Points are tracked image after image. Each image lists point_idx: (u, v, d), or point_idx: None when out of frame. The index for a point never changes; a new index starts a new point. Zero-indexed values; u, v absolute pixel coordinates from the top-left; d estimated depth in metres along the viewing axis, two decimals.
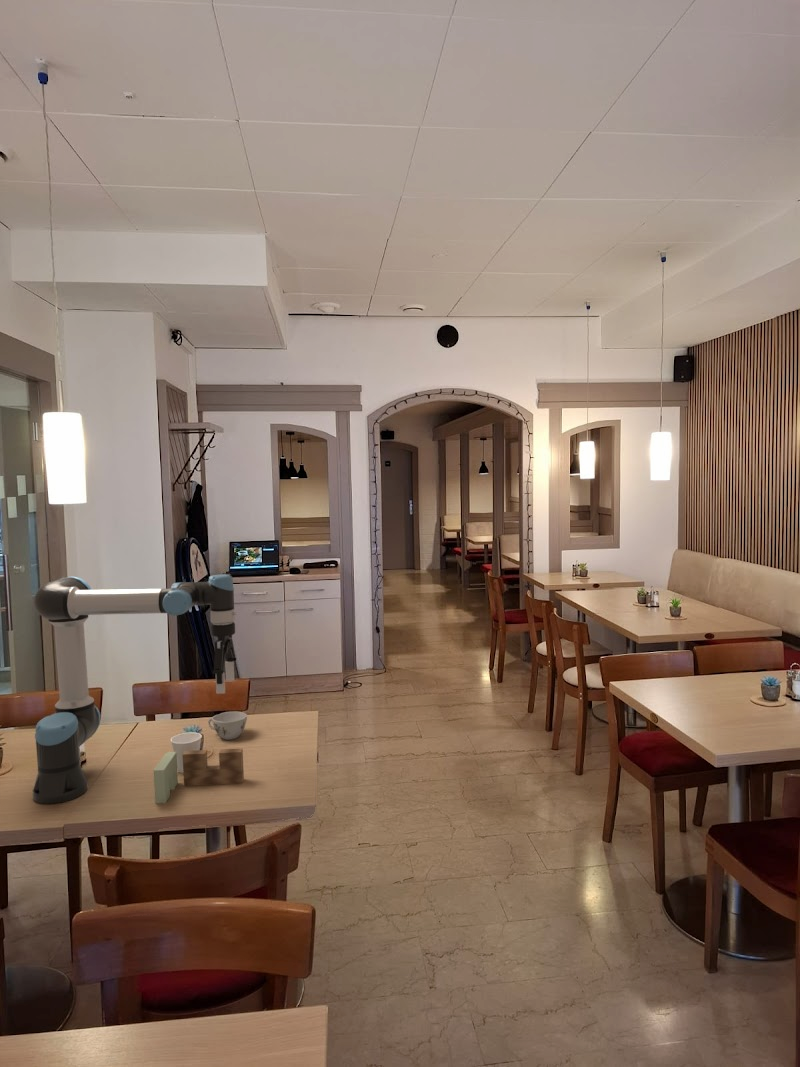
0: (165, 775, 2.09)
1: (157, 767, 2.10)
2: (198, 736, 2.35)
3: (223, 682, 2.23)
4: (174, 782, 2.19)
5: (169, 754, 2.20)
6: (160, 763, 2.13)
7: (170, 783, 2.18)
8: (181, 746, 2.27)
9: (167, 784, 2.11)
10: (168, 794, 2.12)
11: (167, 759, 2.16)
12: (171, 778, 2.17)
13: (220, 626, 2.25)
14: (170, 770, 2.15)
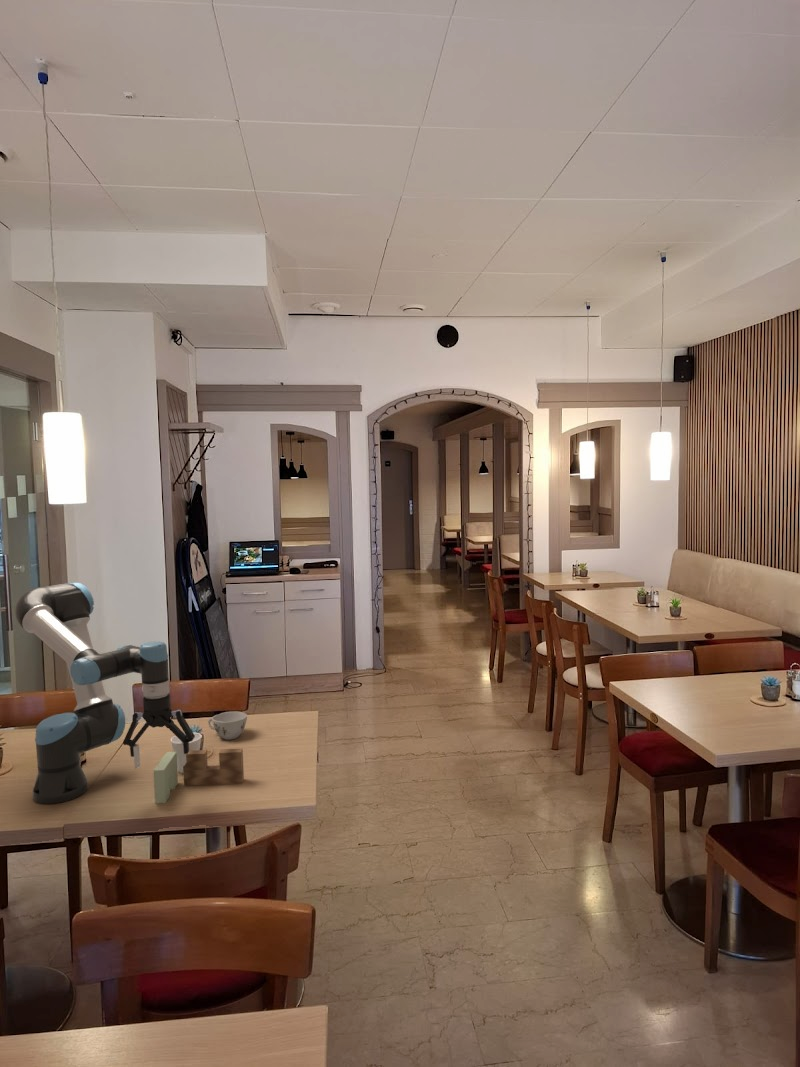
0: (165, 775, 2.09)
1: (157, 767, 2.10)
2: (198, 736, 2.35)
3: None
4: (174, 782, 2.19)
5: (169, 754, 2.20)
6: (160, 763, 2.13)
7: (170, 783, 2.18)
8: None
9: (167, 784, 2.11)
10: (168, 794, 2.12)
11: (167, 759, 2.16)
12: (171, 778, 2.17)
13: (144, 697, 2.07)
14: (170, 770, 2.15)
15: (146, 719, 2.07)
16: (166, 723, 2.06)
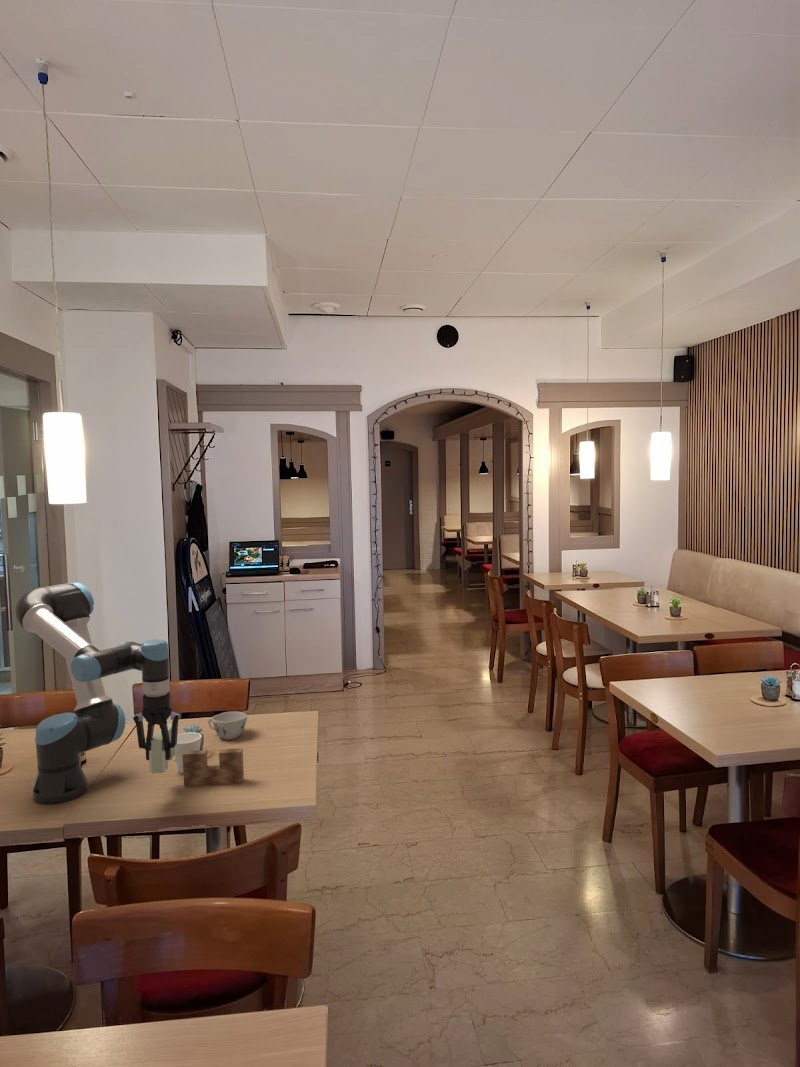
0: (163, 745, 2.09)
1: (155, 737, 2.09)
2: (198, 736, 2.35)
3: None
4: (171, 753, 2.18)
5: (167, 725, 2.19)
6: (158, 734, 2.12)
7: None
8: (180, 746, 2.27)
9: None
10: None
11: None
12: None
13: (144, 695, 2.07)
14: None
15: (145, 716, 2.07)
16: (161, 723, 2.07)
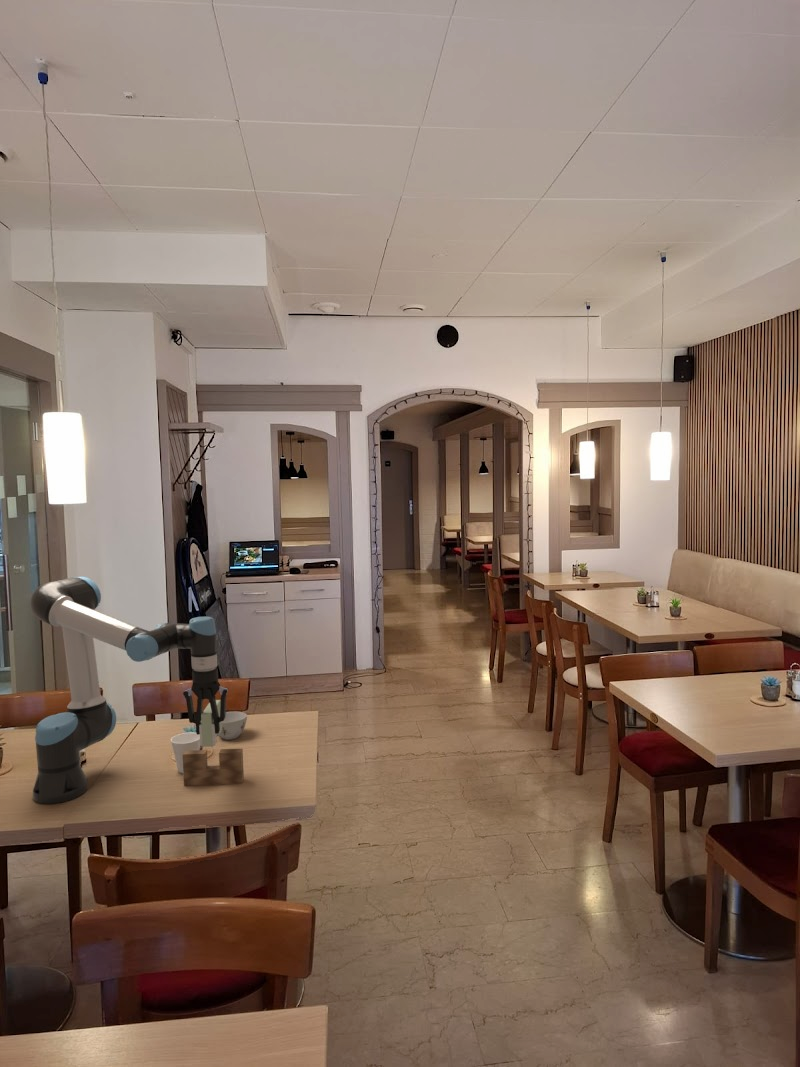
0: (212, 719, 2.15)
1: (204, 712, 2.15)
2: (198, 736, 2.35)
3: (200, 734, 2.14)
4: None
5: None
6: (206, 709, 2.18)
7: None
8: (181, 746, 2.27)
9: None
10: None
11: None
12: None
13: (193, 670, 2.13)
14: None
15: (195, 691, 2.13)
16: (211, 697, 2.13)
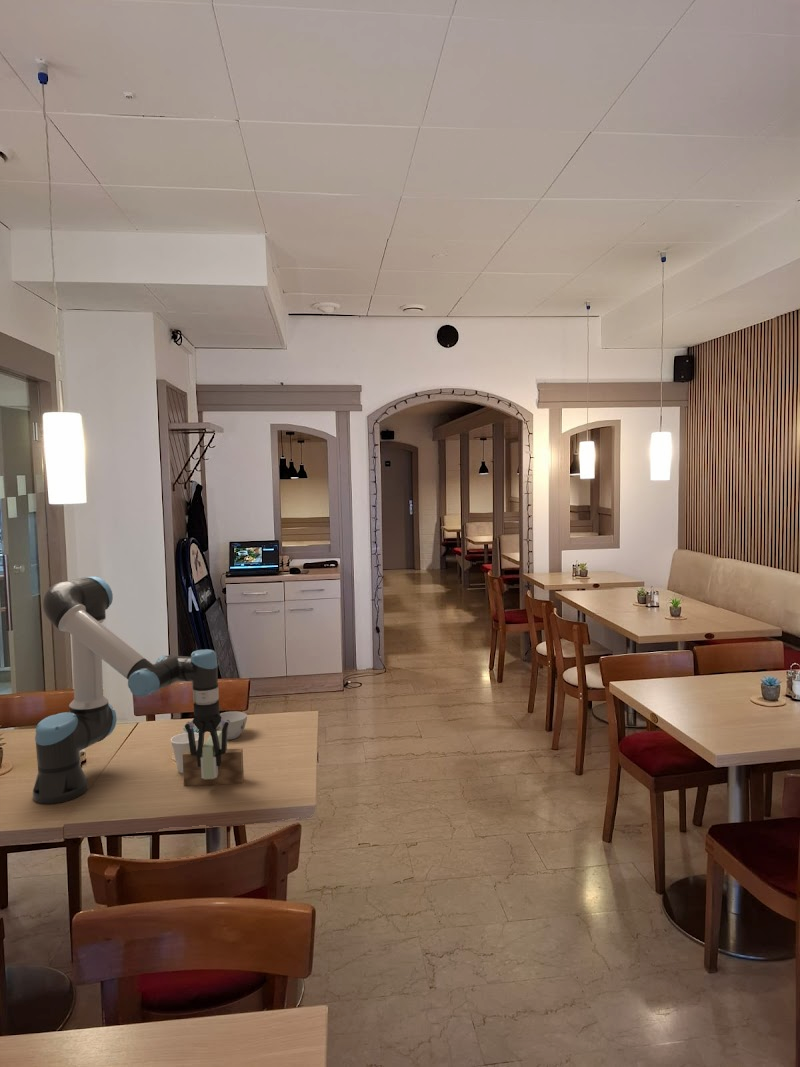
0: (213, 752, 2.15)
1: (205, 744, 2.16)
2: (198, 736, 2.35)
3: None
4: None
5: None
6: (208, 741, 2.19)
7: None
8: (180, 746, 2.27)
9: None
10: None
11: None
12: None
13: (194, 703, 2.14)
14: None
15: (196, 724, 2.14)
16: (212, 730, 2.13)
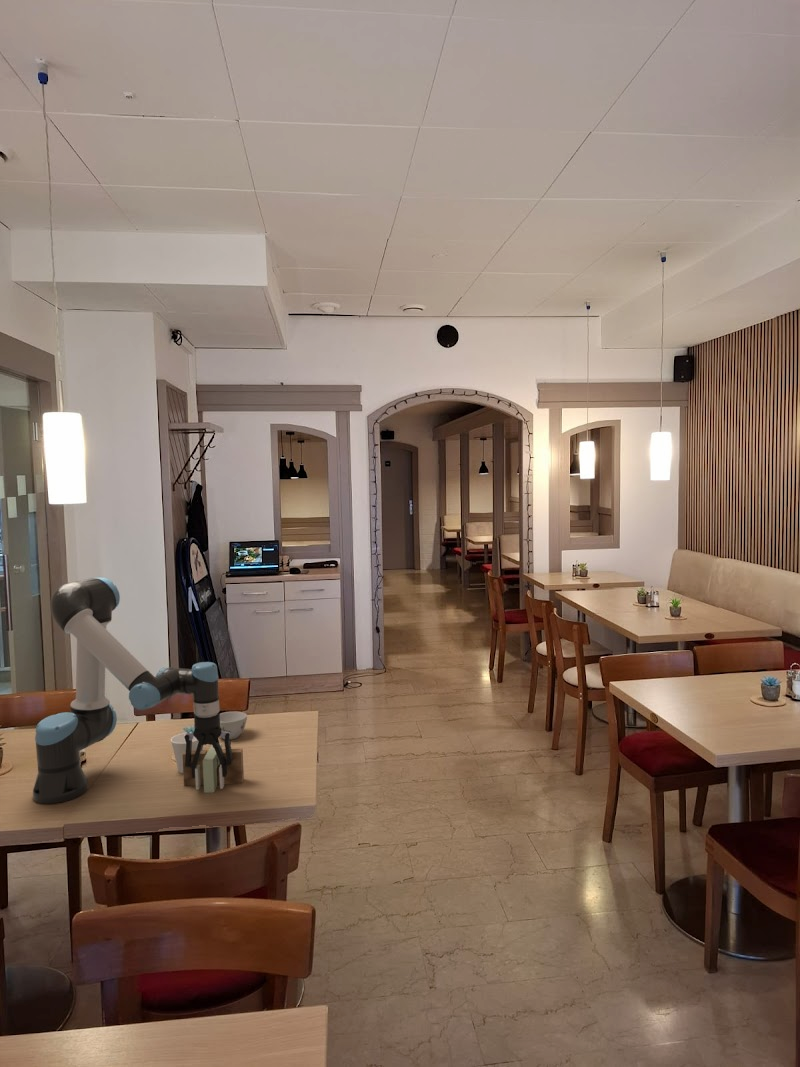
0: (213, 765, 2.16)
1: (205, 757, 2.16)
2: None
3: None
4: None
5: None
6: (208, 754, 2.19)
7: None
8: (181, 746, 2.27)
9: (215, 774, 2.18)
10: (216, 784, 2.18)
11: (214, 750, 2.22)
12: None
13: (195, 716, 2.15)
14: (217, 760, 2.21)
15: (197, 737, 2.14)
16: (214, 743, 2.14)
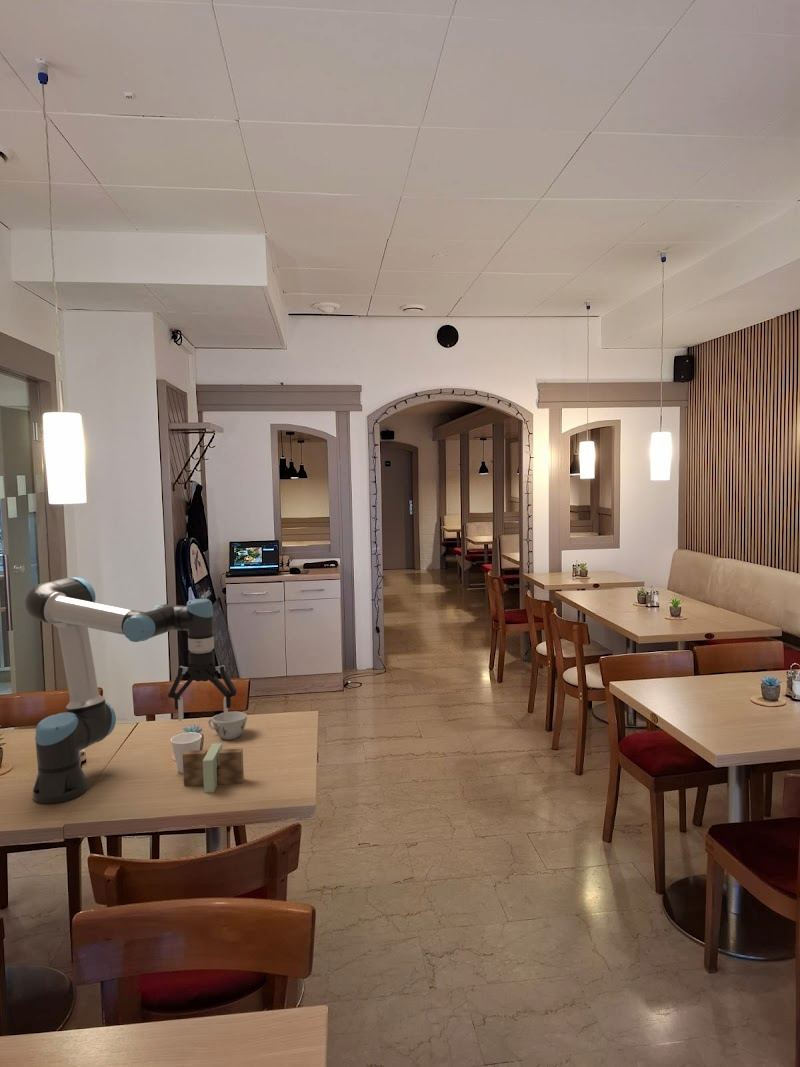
0: (213, 765, 2.16)
1: (205, 757, 2.16)
2: (198, 736, 2.35)
3: None
4: None
5: (215, 745, 2.26)
6: (208, 754, 2.19)
7: None
8: (181, 746, 2.27)
9: (215, 774, 2.18)
10: (216, 784, 2.18)
11: (214, 750, 2.22)
12: None
13: (189, 652, 2.14)
14: (217, 760, 2.21)
15: (191, 673, 2.13)
16: (210, 677, 2.13)
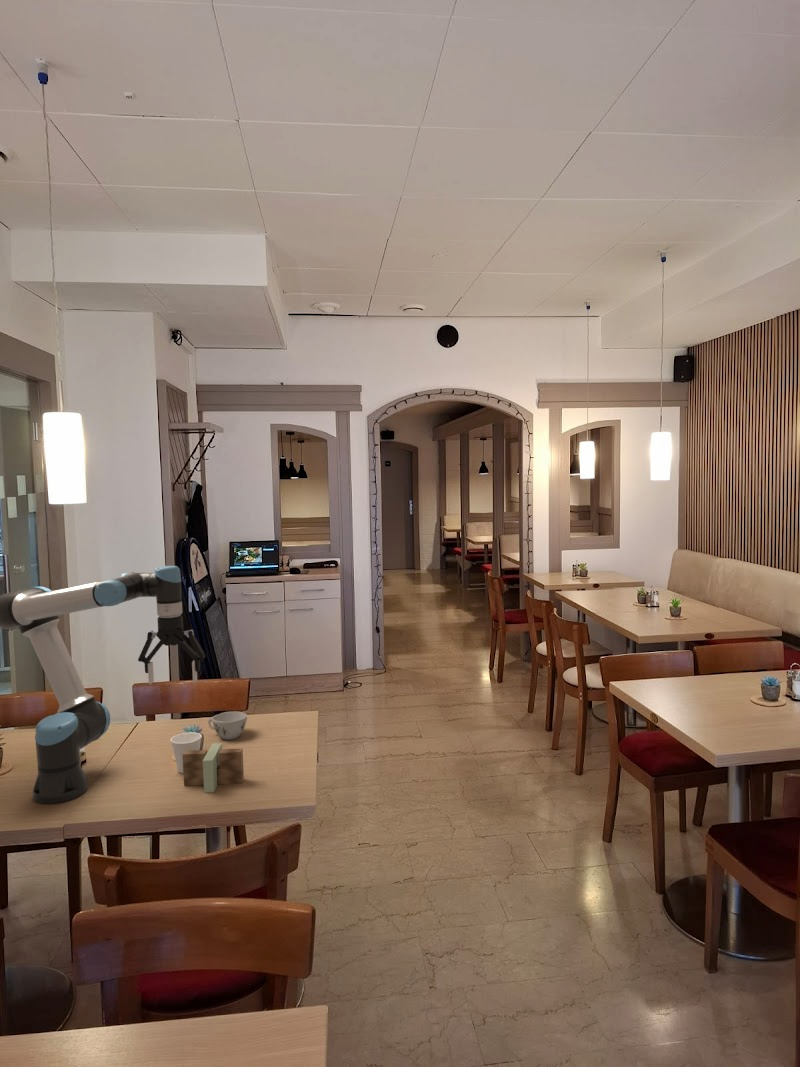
0: (213, 765, 2.16)
1: (205, 757, 2.16)
2: (198, 736, 2.35)
3: None
4: None
5: (215, 745, 2.26)
6: (208, 754, 2.19)
7: None
8: (180, 746, 2.27)
9: (215, 774, 2.18)
10: (216, 784, 2.18)
11: (214, 750, 2.22)
12: None
13: None
14: (217, 760, 2.21)
15: (160, 638, 2.20)
16: (179, 641, 2.19)
